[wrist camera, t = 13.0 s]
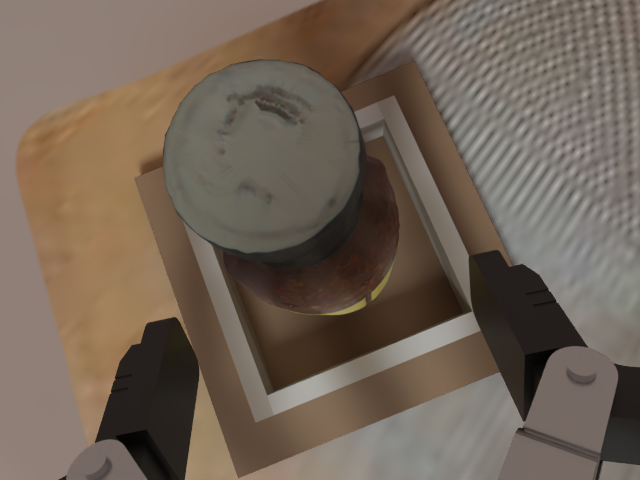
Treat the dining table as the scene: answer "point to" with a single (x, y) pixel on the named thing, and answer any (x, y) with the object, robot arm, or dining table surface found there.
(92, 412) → the dining table surface
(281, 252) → the sauce bottle
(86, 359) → the dining table surface
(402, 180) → the carrier board
